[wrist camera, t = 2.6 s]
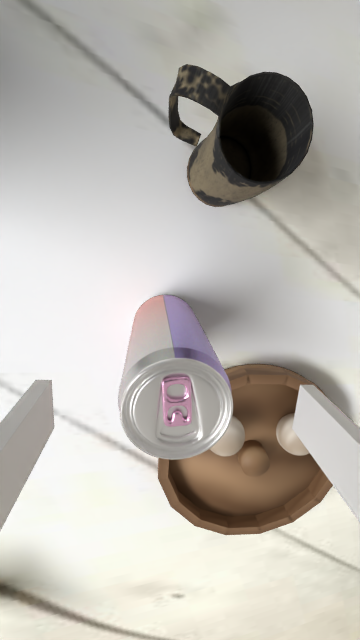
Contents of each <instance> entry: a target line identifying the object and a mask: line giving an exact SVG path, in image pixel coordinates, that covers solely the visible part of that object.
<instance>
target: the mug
mask: <svg viewBox="0 0 360 640" xmlns="http://www.w3.org/2000/svg"><path fill="white" fill-rule="evenodd" d="M178 96H182V97H186V98H189V99H191V100H193V101H195V102H197V103H199V104H201V105H203V106H205V107H206V108H208V109H210V110H211V111H213V112H214V113H215V114H217V115H218V116H219V117H218V120H217V123H216V125H215V127H214V129H213V130H212V132H211V133H210V134H209V135H208V137H207V138H205V139H204V140H203V141H202V142H201V143H200V144H199V145H198V146H197V144H198V141H199V138H200V136H201V134H200V133H198V132H197V131H195V130H193V129H191V128H189V127H188V126H186V125H185V124H184V123H183V122H182V121H181V120H180V117H179V113H178ZM169 125H170V129H171V131H172V133H173V135H174V136H176V137H177V138H179V139H181V140H183V141H185V142H187V143H190V144H192V145H194V146H197V147H196V148H195V149H194V151H193V153H192V155H191V157H190V158H189V163H188V167H187V178H188V182H189V186H190V188H191V190H192V192H193V194H194V195H195V196H196V197H197V198H198V199H199V200H200V201H202V202H203V203H205V204H207V205H210V206H214V207H222V206H226V205H230V204H234V203H238V202H241V201H244V200H246V199H249V198H252V197H255V196H256V195H258V194H260V193H262V192H264V191H266V190H268V189H270V188H271V187H273V186H275V185H276V184H278V183H279V182H281V181H282V180H283V179H285V178H286V177H287V176H289V175H290V174H291V173H292V172H293V171H294V170H295V169H296V168H297V167H298V166H299V165H300V164H301V162H302V161H303V159H304V157H305V156H306V154H307V152H308V149H309V146H310V143H311V140H312V134H313V116H312V109H311V107H310V104H309V101H308V99H307V96H306V95H305V93H304V92H303V91H302V89H301V88H300V86H299V85H298V84H296V83H295V82H294V81H293V80H291V79H290V78H289V77H287V76H284V75H281V74H279V73H275V72H262V73H258V74H254V75H251V76H249V77H247V78H246V79H244V80H243V81H241V82H240V83H239V82H238V83H236V84H235V85H233V86H231V87H230V86H229V85H228V84H227V83H226V82H224V81H223V80H222V79H221V78H219V77H217V76H215V75H214V74H212V73H210V72H208V71H206V70H204V69H202V68H200V67H198V66H193V65H188V64H186V65H184V66H182V67H180V68H179V71H178V76H177V80H176V84H175V86H174V88H173V90H172V92H171V94H170V96H169Z"/></svg>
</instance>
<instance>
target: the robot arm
mask: <svg viewBox="0 0 360 640" xmlns="http://www.w3.org/2000/svg"><path fill="white" fill-rule="evenodd" d="M53 429H54V415H53V397H52V380H35V382H34V383H33V384H32V385H31V386H30V388H29V389H28V390H27V391H26V392H25V394H24V395H23V396H22V397H21V399H20V400H19V401H18V402H17V403H16V405H15V406H14V407H13V408H12V409H11V411H10V412H9V413H8V414H7V415H6V417H5V418H4V419H3V420H2V422H1V423H0V531H1V529H2V527H3V525H4V523H5V521H6V519H7V517H8V515H9V513H10V511H11V509H12V508H13V506H14V504H15V502H16V500H17V498H18V496H19V494H20V492H21V490H22V488H23V487H24V485H25V483H26V481H27V479H28V477H29V475H30V473H31V471H32V469H33V467H34V465H35V464H36V462H37V460H38V458H39V456H40V454H41V452H42V450H43V448H44V446H45V444H46V443H47V441H48V439H49V437H50V435H51V433H52V431H53ZM292 429H293V430H294V432H295V433H296V435H297V436H298V437H299V439H300V440H301V441H302V443H303V444H304V446H305V447H306V448H307V450H308V451H309V453H310V454H311V455H312V457H313V458H314V460H315V461H316V462H317V464H318V465H319V466H320V468H321V469H322V471H323V472H324V473H325V475H326V476H327V478H328V479H329V480H330V482H331V483H332V484H333V486H334V487H335V489H336V490H337V491H338V493H339V494H340V496H341V497H342V498H343V500H344V501H345V503H346V504H347V505H348V507H349V508H350V509H351V511H352V512H353V514H354V515H355V516H356V518H357V519H358V521H359V522H360V428H359V427H358V426H357V425H356V424H355V423H354V422H353V421H352V420H351V419H350V418H349V417H348V416H346V415H345V414H344V413H343V412H342V411H341V410H340V409H339V408H338V407H337V406H336V405H335V404H334V403H332V402H331V401H330V400H329V399H328V398H327V397H326V396H325V395H324V394H323V393H322V392H321V391H320V390H318V389H317V388H316V387H315V386H314V385H300V388H299V393H298V399H297V404H296V410H295V415H294V420H293V426H292Z"/></svg>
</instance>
